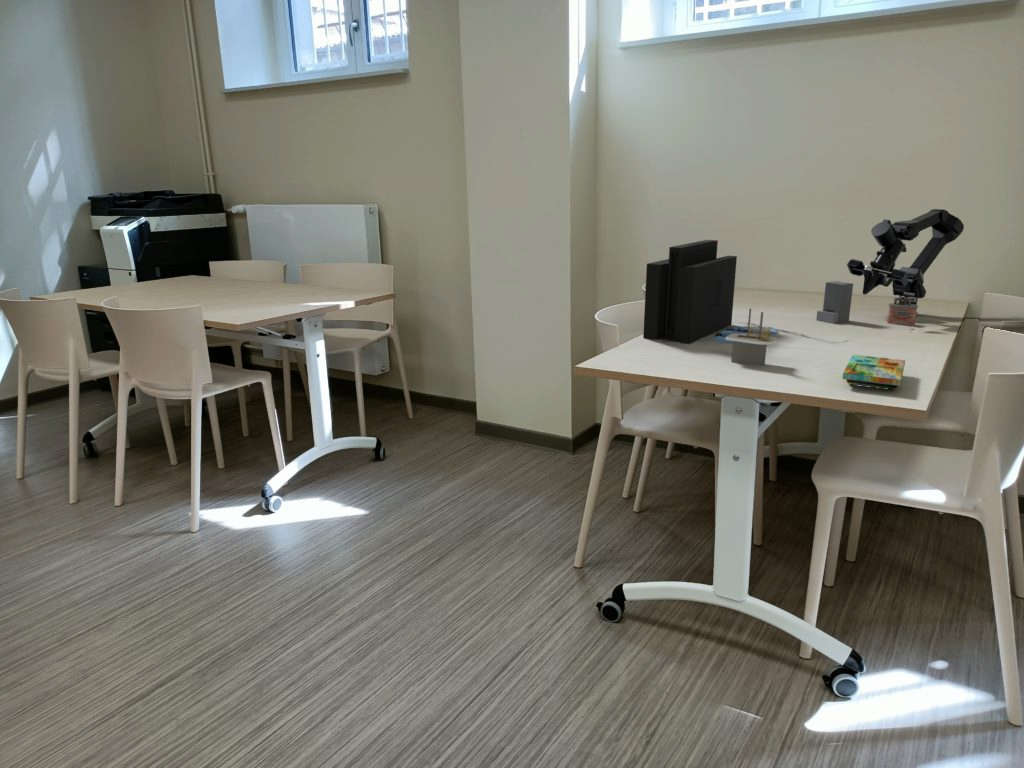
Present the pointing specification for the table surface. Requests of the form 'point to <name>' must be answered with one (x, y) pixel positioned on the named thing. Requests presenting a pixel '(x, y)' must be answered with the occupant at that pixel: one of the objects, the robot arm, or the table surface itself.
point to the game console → (691, 295)
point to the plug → (838, 299)
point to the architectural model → (751, 345)
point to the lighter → (902, 311)
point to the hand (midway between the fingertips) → (863, 293)
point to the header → (827, 317)
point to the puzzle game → (874, 371)
